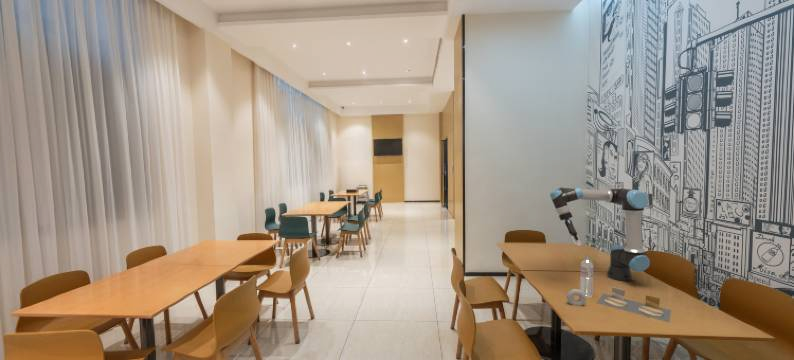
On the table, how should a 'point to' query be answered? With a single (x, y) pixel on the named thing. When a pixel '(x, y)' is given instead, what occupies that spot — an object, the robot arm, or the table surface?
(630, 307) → the board
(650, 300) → the ochre tag coaster
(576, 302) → the donut
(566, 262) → the table surface
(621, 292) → the white tag coaster
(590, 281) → the water bottle
